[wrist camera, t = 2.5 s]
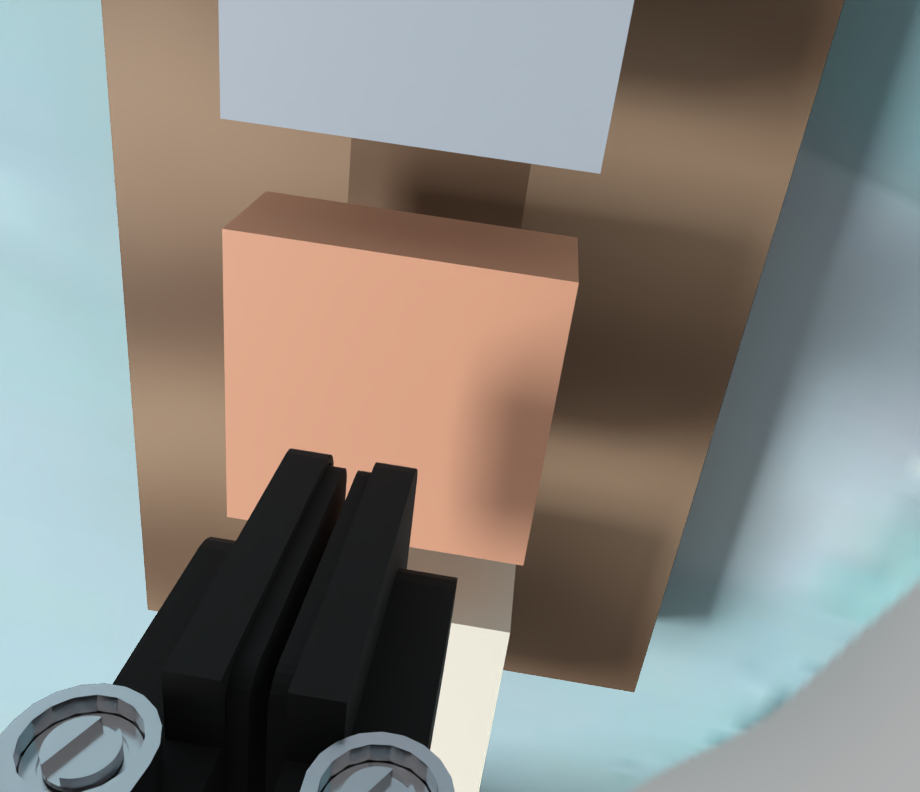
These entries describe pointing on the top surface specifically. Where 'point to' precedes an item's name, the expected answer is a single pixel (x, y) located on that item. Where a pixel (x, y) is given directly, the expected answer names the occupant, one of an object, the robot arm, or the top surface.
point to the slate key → (431, 73)
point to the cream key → (470, 659)
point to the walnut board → (503, 204)
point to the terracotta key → (397, 358)
